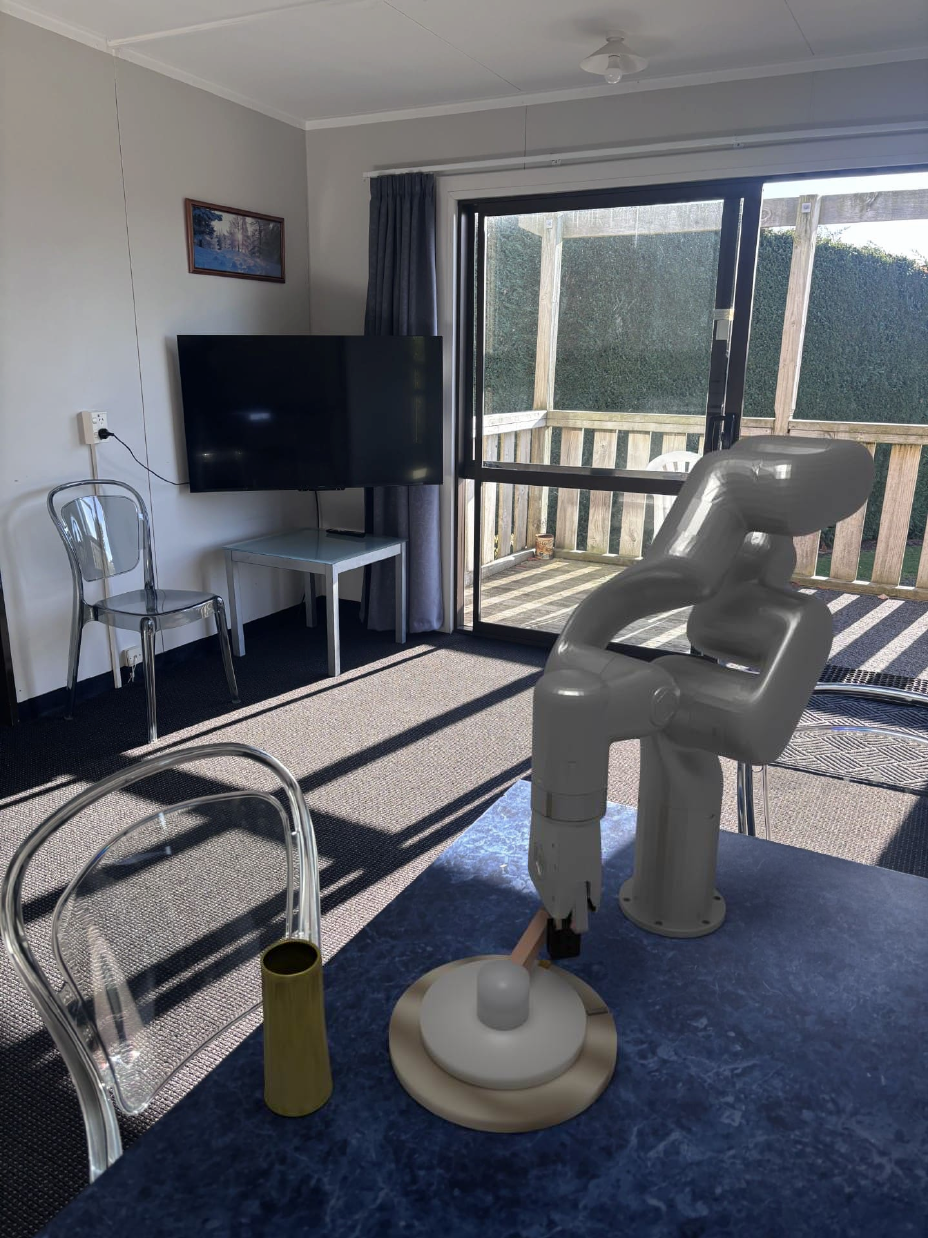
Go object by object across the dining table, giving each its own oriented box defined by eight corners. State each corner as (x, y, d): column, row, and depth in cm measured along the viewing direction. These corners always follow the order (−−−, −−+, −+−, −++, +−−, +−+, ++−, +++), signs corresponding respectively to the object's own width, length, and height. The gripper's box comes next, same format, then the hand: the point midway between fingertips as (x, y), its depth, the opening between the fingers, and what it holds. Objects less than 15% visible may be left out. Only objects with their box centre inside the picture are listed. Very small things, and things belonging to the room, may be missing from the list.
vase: (318, 1124, 78) (311, 984, 74) (252, 1112, 79) (242, 974, 75) (341, 1071, 84) (336, 939, 80) (280, 1061, 85) (271, 931, 81)
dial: (554, 1113, 77) (556, 1060, 76) (390, 1056, 84) (388, 1006, 82) (621, 959, 97) (624, 915, 95) (484, 922, 103) (485, 880, 102)
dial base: (456, 944, 102) (456, 929, 102) (645, 1007, 92) (646, 992, 92) (343, 1075, 83) (342, 1058, 83) (565, 1172, 74) (565, 1154, 73)
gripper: (511, 766, 95) (509, 917, 100) (555, 837, 81) (550, 1008, 86) (579, 759, 97) (573, 908, 102) (634, 828, 83) (623, 996, 88)
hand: (562, 953), depth 94 cm, fingers closed
